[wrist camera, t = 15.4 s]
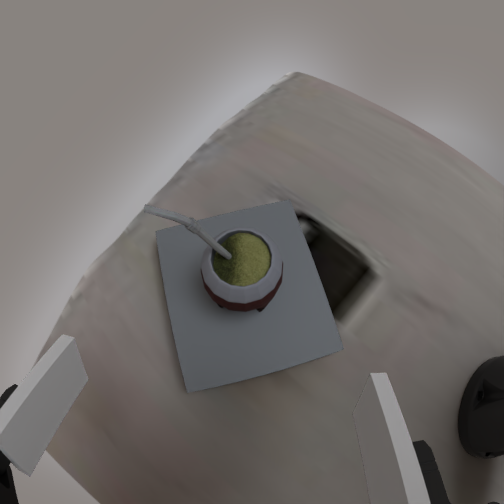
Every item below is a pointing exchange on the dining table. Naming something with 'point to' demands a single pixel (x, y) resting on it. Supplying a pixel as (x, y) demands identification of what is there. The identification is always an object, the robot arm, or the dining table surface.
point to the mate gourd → (235, 264)
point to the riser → (251, 322)
